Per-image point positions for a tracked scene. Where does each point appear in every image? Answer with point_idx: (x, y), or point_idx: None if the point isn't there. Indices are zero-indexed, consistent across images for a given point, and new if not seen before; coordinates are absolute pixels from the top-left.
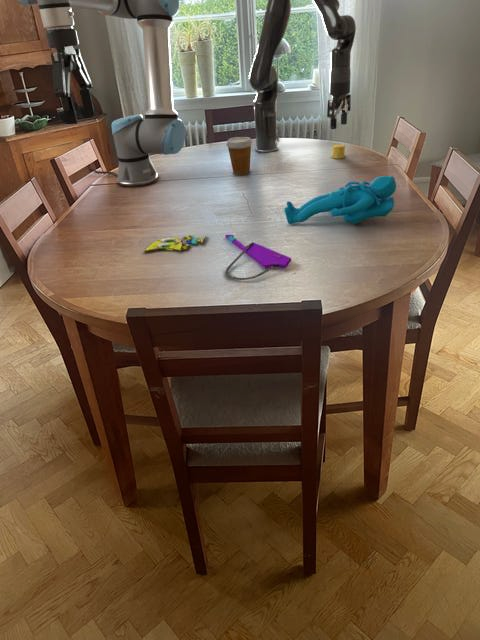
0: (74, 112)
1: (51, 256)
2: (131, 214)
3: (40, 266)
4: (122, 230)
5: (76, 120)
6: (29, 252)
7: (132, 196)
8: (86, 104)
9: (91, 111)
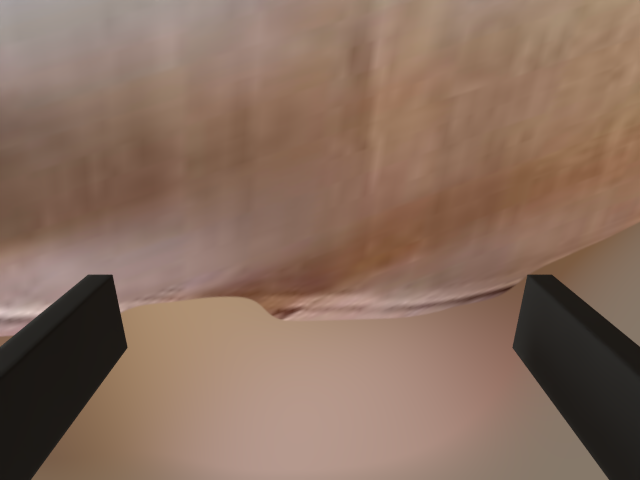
0: (605, 322)
1: (520, 233)
2: (244, 96)
3: (573, 237)
4: (379, 86)
5: (559, 285)
6: (481, 295)
7: (70, 144)
8: (74, 374)
9: (104, 304)
